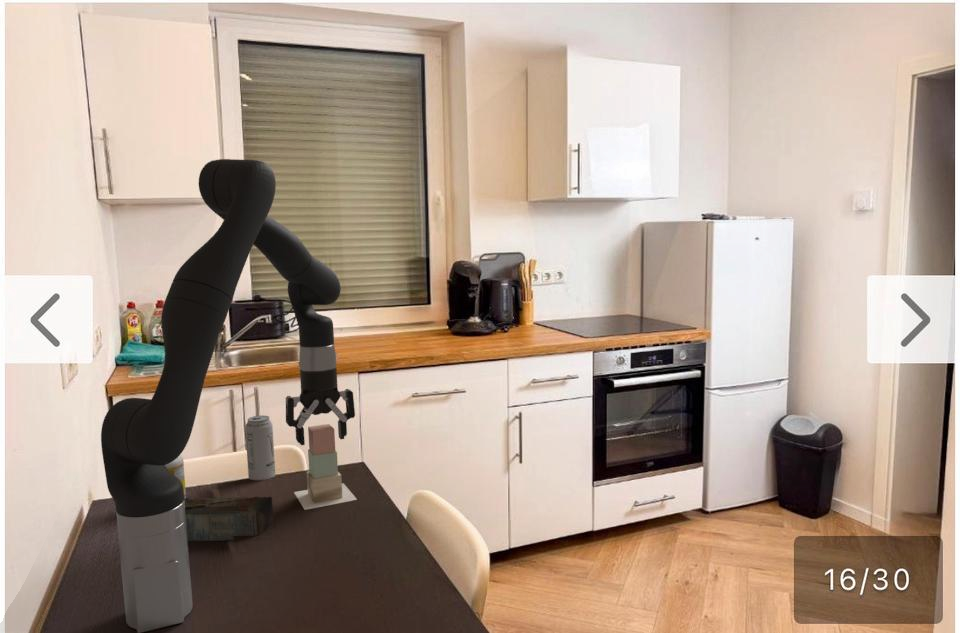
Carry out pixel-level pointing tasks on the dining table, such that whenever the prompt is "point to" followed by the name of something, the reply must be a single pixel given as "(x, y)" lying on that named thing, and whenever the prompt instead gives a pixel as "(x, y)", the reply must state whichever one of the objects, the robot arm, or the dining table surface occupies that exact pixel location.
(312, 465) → the sage block
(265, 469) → the energy drink can
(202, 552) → the dining table surface
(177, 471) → the supplement bottle
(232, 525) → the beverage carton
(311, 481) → the maple block
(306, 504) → the pad
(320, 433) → the coral block
